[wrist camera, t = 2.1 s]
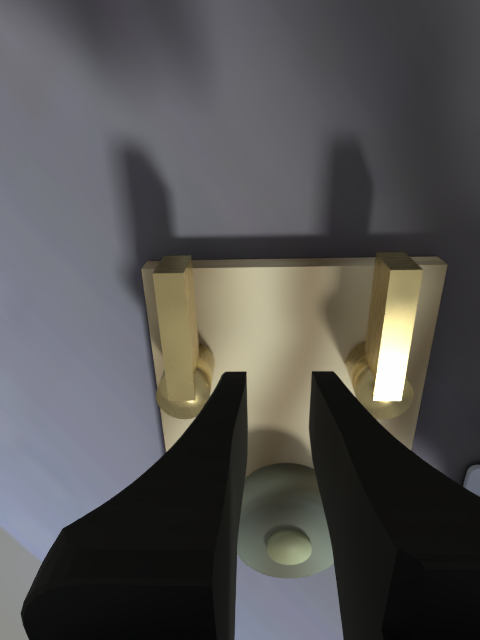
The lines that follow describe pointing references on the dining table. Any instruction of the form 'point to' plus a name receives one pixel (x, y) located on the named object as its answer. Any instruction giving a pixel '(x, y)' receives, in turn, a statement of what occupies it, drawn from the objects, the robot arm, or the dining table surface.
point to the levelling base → (290, 381)
